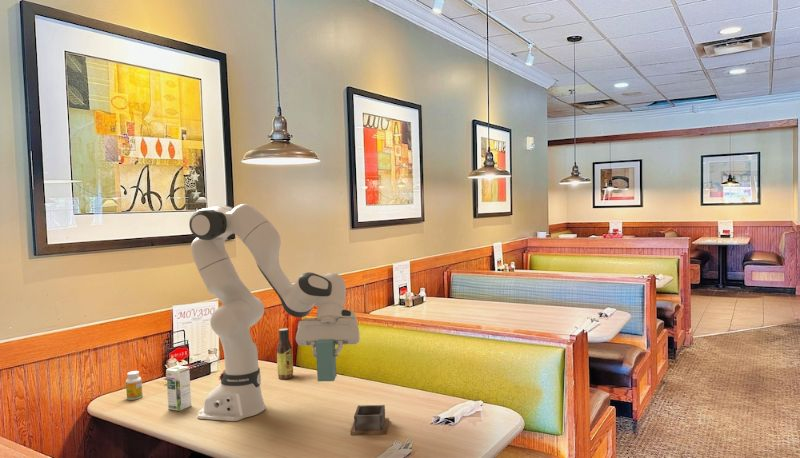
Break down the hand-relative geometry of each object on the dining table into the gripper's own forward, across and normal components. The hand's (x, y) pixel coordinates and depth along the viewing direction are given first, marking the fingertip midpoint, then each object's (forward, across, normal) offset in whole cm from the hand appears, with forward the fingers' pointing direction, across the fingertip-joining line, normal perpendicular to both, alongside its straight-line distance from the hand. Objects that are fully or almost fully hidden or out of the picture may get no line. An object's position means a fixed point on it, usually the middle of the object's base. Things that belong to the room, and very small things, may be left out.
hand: (325, 355), depth 170 cm
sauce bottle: (-20, -28, +53) cm, 63 cm away
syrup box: (+2, -58, +31) cm, 66 cm away
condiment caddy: (+16, +13, +17) cm, 27 cm away
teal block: (+5, 0, +6) cm, 7 cm away
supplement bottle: (-6, -81, +39) cm, 90 cm away
